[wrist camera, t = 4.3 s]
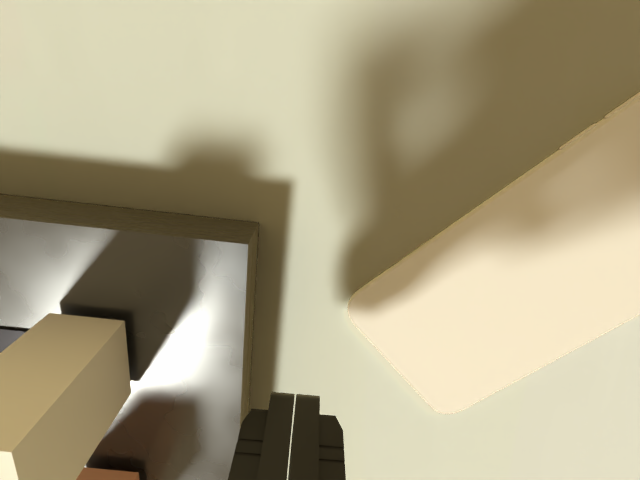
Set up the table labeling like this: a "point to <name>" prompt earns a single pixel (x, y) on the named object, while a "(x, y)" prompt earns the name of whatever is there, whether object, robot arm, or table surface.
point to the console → (145, 320)
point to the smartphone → (517, 273)
